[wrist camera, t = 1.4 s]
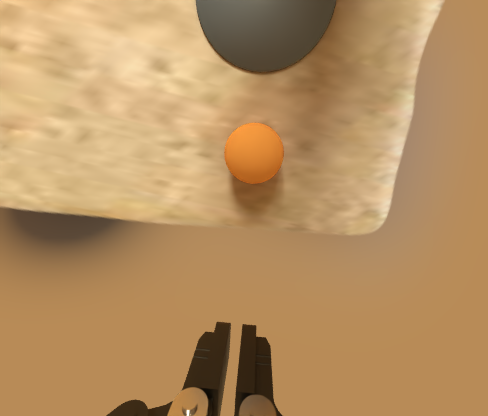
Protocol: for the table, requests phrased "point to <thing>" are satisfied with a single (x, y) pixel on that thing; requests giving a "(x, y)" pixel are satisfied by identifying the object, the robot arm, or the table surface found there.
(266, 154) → the ball
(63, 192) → the table surface
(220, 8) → the dark grey flat disc
